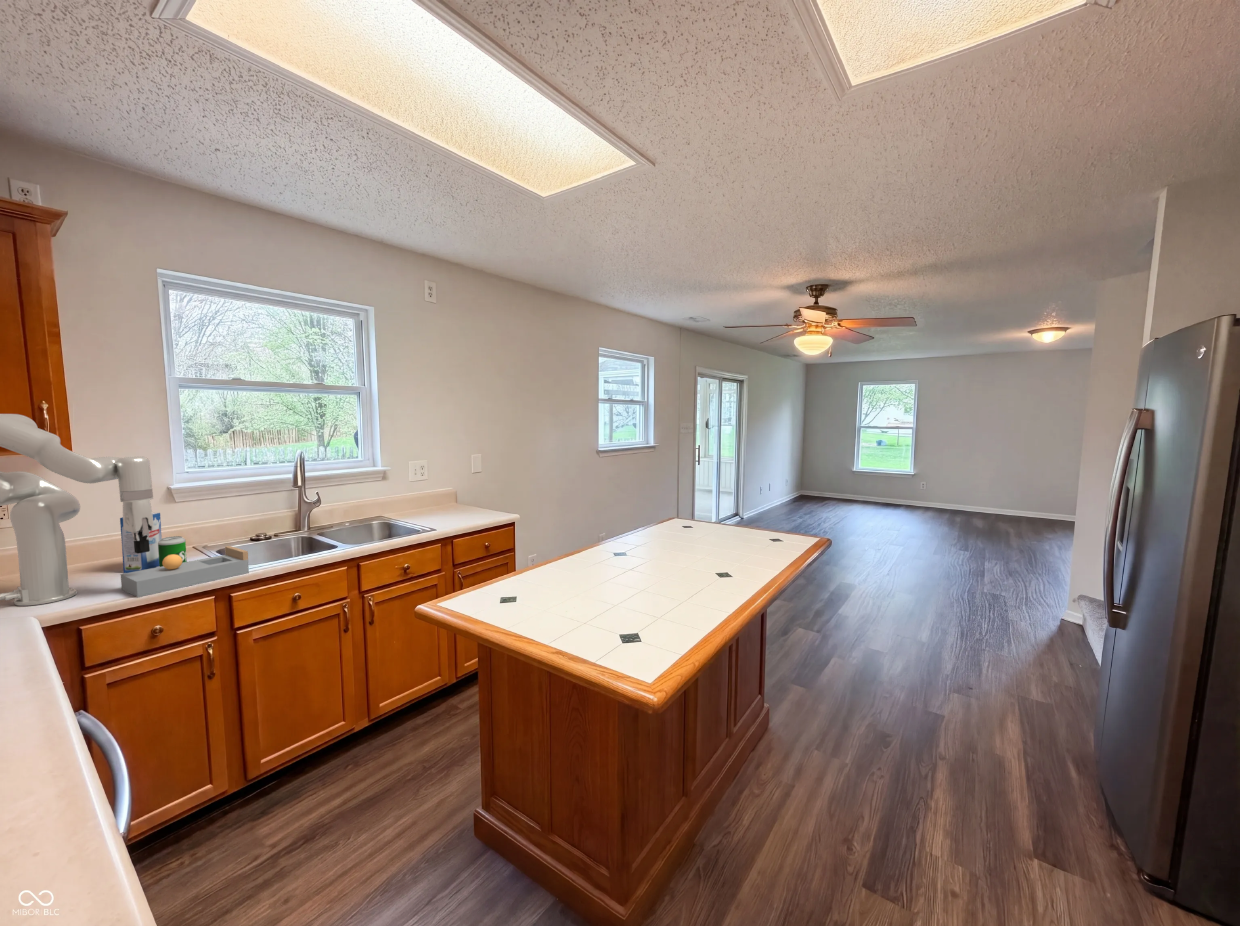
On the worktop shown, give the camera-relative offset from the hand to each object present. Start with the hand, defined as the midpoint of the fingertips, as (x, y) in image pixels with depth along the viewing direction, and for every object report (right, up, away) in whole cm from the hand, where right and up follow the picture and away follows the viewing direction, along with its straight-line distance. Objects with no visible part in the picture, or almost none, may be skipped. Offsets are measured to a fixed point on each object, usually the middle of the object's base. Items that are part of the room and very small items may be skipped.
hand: (142, 552), depth 160 cm
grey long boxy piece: (+5, -12, +11) cm, 17 cm away
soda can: (-10, -11, +22) cm, 27 cm away
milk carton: (-22, -11, +24) cm, 34 cm away
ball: (+3, -5, +7) cm, 9 cm away
